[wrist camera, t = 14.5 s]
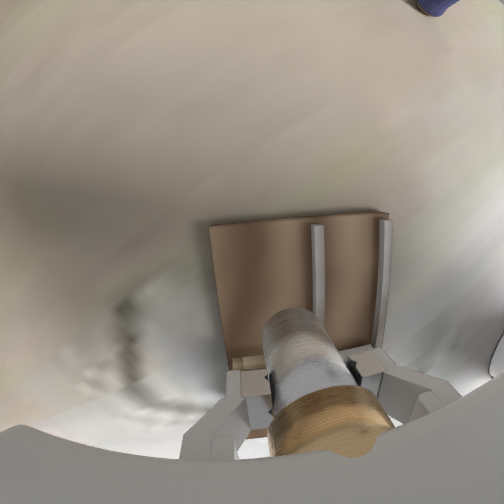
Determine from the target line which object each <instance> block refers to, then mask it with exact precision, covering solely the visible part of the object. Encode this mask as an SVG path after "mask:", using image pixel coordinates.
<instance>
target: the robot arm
mask: <svg viewBox="0 0 504 504" xmlns="http://www.w3.org/2000/svg"><path fill="white" fill-rule="evenodd" d="M344 362H345V364H346V366H347V367H348V369H349V371H350V372H351V374H352V376H353V377H354V379H355V381H356V383H357V384H358V386H360V387H364V388H366V389H368V390H370V391H371V392H373V393H374V395H375V396H376V397H377V399H378V400H379V402H380V404H381V405H382V407H383V408H384V410H385V412H386V413H387V415H389V416H391V417H393V418H394V419H396V420H398V421H399V422H401V423H403V425H401V426H398V427H395V428H393V429H390V430H387V431H385V432H382V433H381V434H380V435H378V437H377V438H376V443H375V444H374V446H373V448H372V450H371V451H370V452H369V453H367V454H366V455H363V456H360V457H354V458H349V457H345V456H342V455H339V454H336V453H334V452H332V451H330V450H313V451H308V452H302V453H296V454H290V455H283V456H275V457H266V458H255V459H241V460H239V457H238V453H237V451H238V449H239V448H240V446H241V445H242V443H243V442H244V440H245V439H246V437H247V436H248V434H249V433H250V431H251V430H254V429H262V428H269V425H270V423H271V422H272V420H273V414H272V398H271V390H270V383H269V380H268V371H267V368H258V369H245V370H231V371H227V373H226V395H225V398H224V399H221V400H220V401H219V402H218V403H217V404H216V405H215V406H214V407H213V408H212V409H210V410H209V411H208V412H207V413H206V414H205V415H204V416H203V417H202V418H201V419H200V420H199V421H198V422H197V423H196V424H195V425H194V426H192V427H191V428H190V429H189V430H188V431H187V432H186V433H185V434H184V435H183V440H182V446H181V451H180V457H179V459H167V458H156V457H147V456H140V455H133V454H127V453H121V452H115V451H110V450H105V449H101V448H96V447H92V446H88V445H84V444H80V443H77V442H73V441H70V440H66V439H63V438H60V437H57V436H54V435H51V434H48V433H45V432H42V431H40V430H37V429H35V428H32V427H30V426H27V425H22V424H19V425H16V426H13V427H11V428H9V429H7V430H4V431H2V432H0V504H504V335H503V336H502V338H501V340H500V342H499V344H498V346H497V348H496V350H495V353H494V355H493V358H492V360H491V364H490V368H489V373H490V375H491V376H493V379H491V380H490V381H488V382H487V383H485V384H483V385H482V386H480V387H478V388H477V389H475V390H473V391H472V392H470V393H468V394H467V395H465V396H463V397H462V396H461V395H460V394H459V393H458V392H457V391H456V389H455V388H454V387H453V386H452V385H451V384H450V383H449V382H448V381H444V380H441V379H438V378H435V377H432V376H428V375H425V374H422V373H419V372H416V371H413V370H410V369H407V368H404V367H398V366H397V365H396V364H395V363H394V362H393V360H392V359H391V358H390V357H389V356H388V354H387V353H386V352H385V351H384V350H383V349H382V348H381V347H377V348H374V349H370V350H367V351H363V352H359V353H354V354H350V355H346V357H345V360H344Z"/></svg>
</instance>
